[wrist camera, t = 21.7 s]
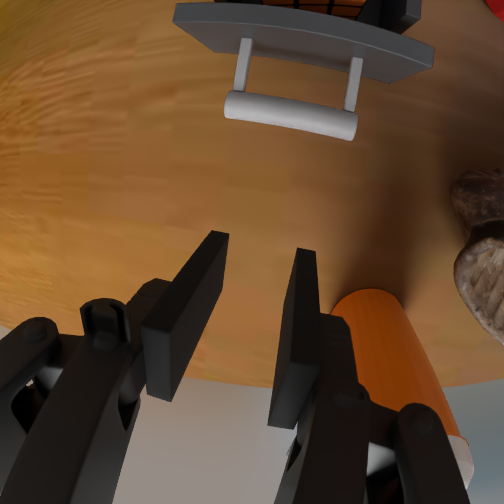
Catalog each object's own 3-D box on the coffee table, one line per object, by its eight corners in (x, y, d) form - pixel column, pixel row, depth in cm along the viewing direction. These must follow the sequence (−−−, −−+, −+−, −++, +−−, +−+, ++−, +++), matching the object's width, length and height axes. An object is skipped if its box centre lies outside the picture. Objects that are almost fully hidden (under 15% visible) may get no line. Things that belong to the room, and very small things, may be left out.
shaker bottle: (405, 265, 24) (505, 486, 6) (414, 342, 27) (466, 529, 9) (306, 294, 26) (292, 538, 8) (330, 365, 29) (328, 560, 11)
